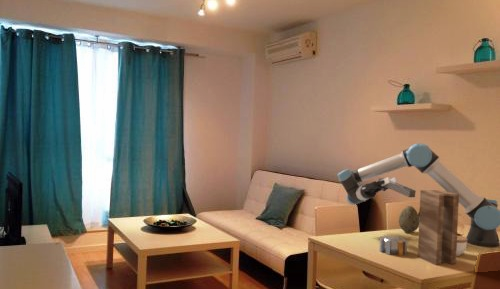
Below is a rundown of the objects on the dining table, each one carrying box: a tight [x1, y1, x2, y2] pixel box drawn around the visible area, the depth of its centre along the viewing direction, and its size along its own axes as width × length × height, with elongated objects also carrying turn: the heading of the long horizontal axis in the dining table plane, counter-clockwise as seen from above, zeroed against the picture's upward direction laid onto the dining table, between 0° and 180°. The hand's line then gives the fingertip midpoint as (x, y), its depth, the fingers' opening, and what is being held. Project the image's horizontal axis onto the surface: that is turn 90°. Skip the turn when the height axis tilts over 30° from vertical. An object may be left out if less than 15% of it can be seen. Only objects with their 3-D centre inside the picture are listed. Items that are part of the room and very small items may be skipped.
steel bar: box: [377, 177, 417, 198], centre depth 198 cm, size 3×24×3 cm, turn 17°
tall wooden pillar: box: [417, 189, 460, 266], centre depth 185 cm, size 10×12×30 cm
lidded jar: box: [456, 235, 468, 257], centre depth 196 cm, size 11×11×9 cm
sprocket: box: [379, 235, 408, 256], centre depth 197 cm, size 12×12×6 cm
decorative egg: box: [398, 205, 419, 234], centre depth 238 cm, size 11×11×15 cm
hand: (392, 179), depth 200 cm, fingers closed on steel bar, 3 cm apart
